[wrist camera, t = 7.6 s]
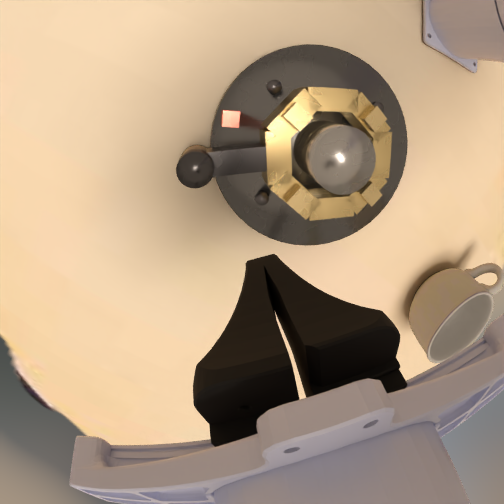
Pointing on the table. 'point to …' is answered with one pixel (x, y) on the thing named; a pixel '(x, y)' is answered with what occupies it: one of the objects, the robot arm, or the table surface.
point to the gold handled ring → (279, 153)
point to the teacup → (453, 310)
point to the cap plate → (264, 105)
